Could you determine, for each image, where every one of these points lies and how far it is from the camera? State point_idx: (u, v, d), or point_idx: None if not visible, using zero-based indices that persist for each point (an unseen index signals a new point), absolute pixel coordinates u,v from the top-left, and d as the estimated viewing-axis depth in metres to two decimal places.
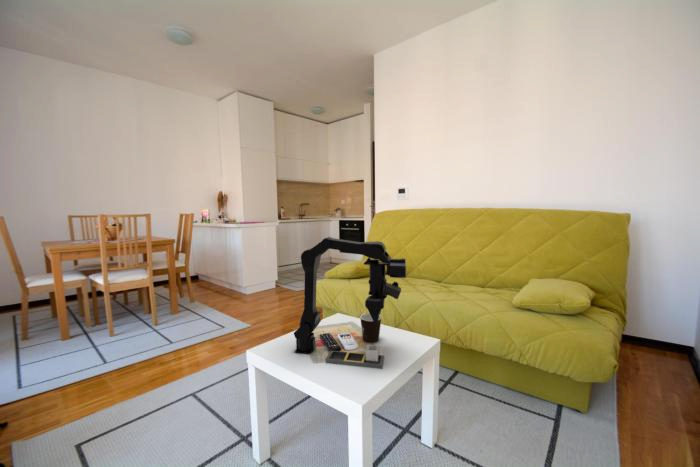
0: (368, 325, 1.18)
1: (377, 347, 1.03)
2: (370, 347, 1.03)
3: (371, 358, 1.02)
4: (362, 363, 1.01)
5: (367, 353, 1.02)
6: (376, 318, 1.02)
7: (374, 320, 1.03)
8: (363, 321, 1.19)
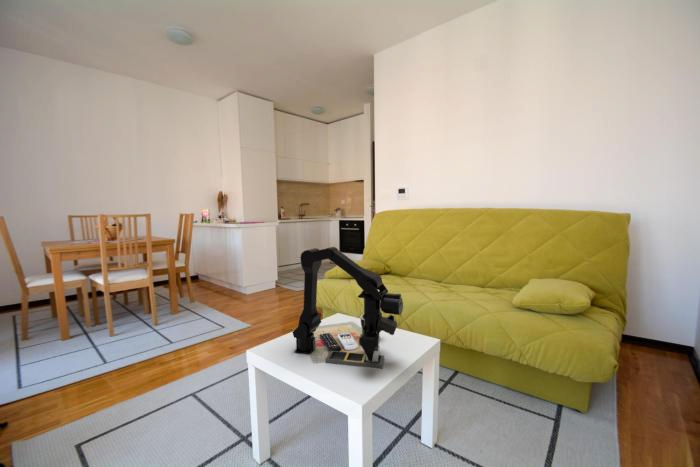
0: None
1: (377, 347, 1.03)
2: None
3: None
4: (362, 363, 1.01)
5: None
6: (371, 355, 0.98)
7: (369, 357, 0.98)
8: (363, 321, 1.19)
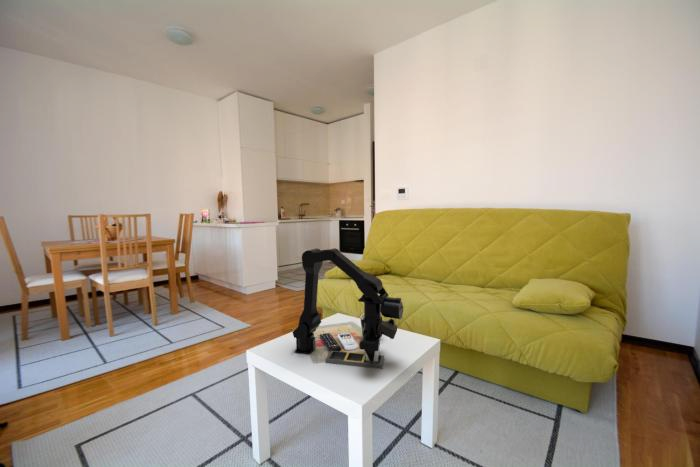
0: None
1: None
2: None
3: None
4: (362, 363, 1.01)
5: None
6: (372, 356, 1.00)
7: (370, 358, 1.01)
8: None
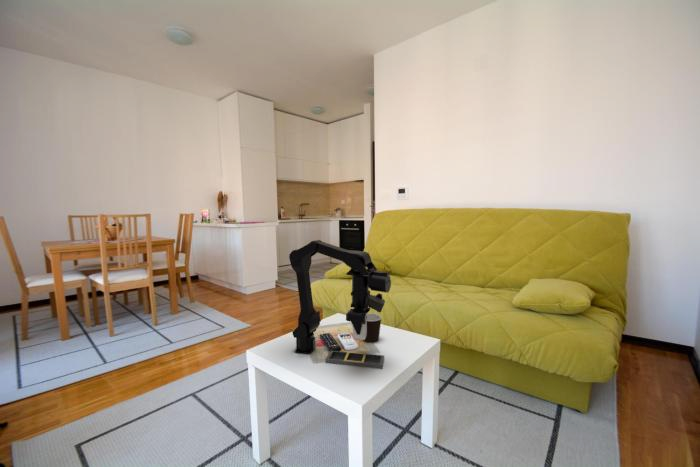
0: (368, 325, 1.18)
1: None
2: None
3: None
4: (362, 363, 1.01)
5: None
6: (359, 329, 1.01)
7: (357, 331, 1.01)
8: None
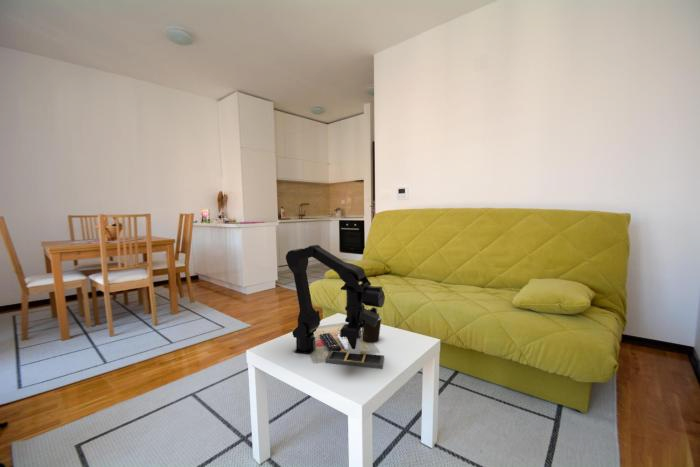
0: (368, 325, 1.18)
1: None
2: None
3: None
4: (362, 363, 1.01)
5: None
6: (354, 344, 1.01)
7: (352, 345, 1.02)
8: None
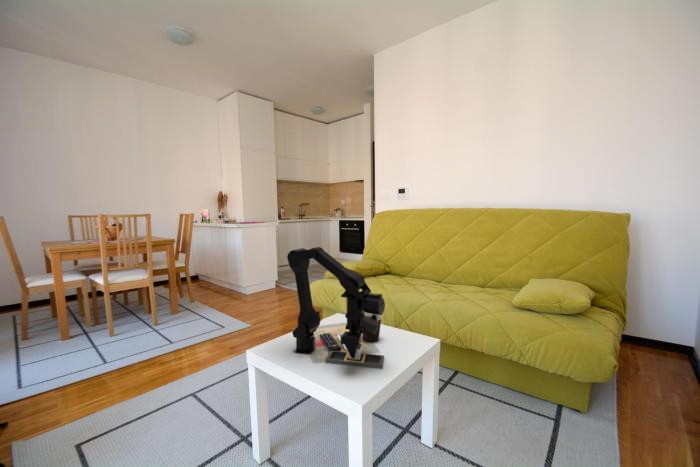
0: None
1: (360, 345, 1.05)
2: None
3: None
4: (362, 363, 1.01)
5: None
6: (353, 353, 1.00)
7: (351, 355, 1.01)
8: None
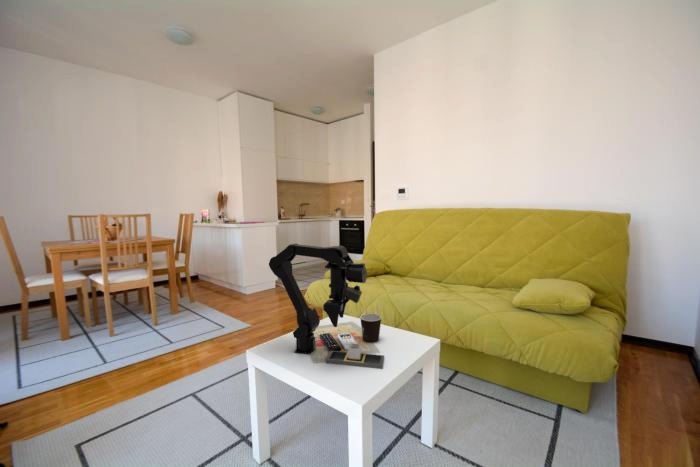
0: (368, 325, 1.18)
1: (360, 345, 1.05)
2: (353, 345, 1.04)
3: (353, 356, 1.03)
4: (362, 363, 1.01)
5: (349, 351, 1.03)
6: (335, 321, 1.04)
7: (333, 323, 1.04)
8: (363, 321, 1.19)
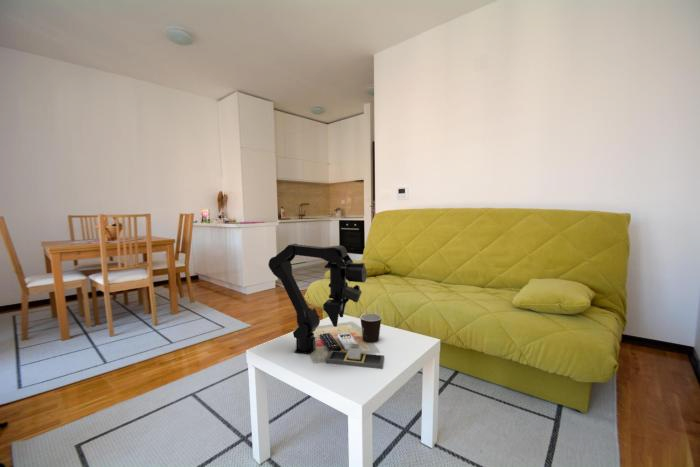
0: (368, 325, 1.18)
1: (360, 345, 1.05)
2: (353, 345, 1.04)
3: (353, 356, 1.03)
4: (362, 363, 1.01)
5: (349, 351, 1.03)
6: (335, 321, 1.04)
7: (333, 323, 1.04)
8: (363, 321, 1.19)
